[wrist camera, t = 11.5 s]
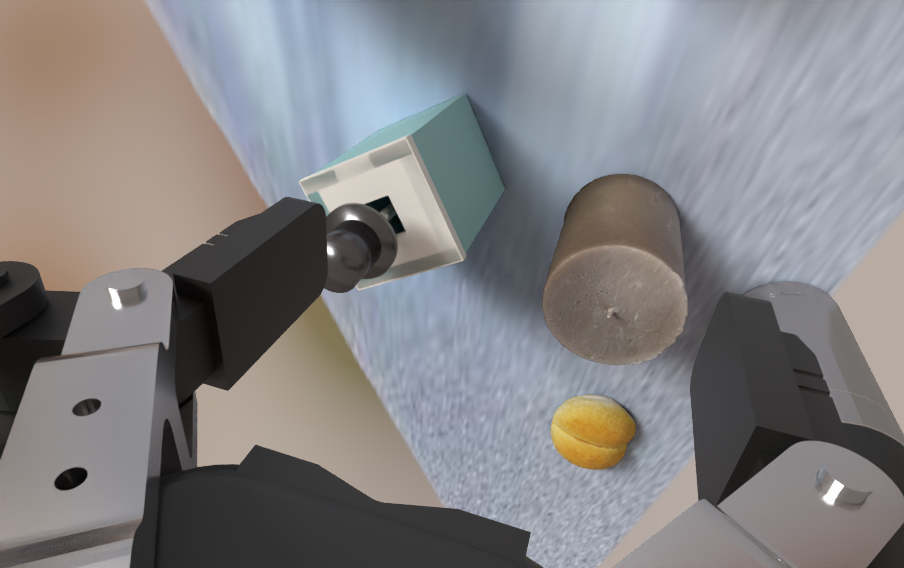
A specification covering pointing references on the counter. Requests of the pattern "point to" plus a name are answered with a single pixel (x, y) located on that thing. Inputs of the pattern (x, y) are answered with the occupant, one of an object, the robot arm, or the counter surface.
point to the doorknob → (358, 245)
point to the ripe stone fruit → (592, 431)
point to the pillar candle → (618, 273)
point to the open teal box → (418, 185)
